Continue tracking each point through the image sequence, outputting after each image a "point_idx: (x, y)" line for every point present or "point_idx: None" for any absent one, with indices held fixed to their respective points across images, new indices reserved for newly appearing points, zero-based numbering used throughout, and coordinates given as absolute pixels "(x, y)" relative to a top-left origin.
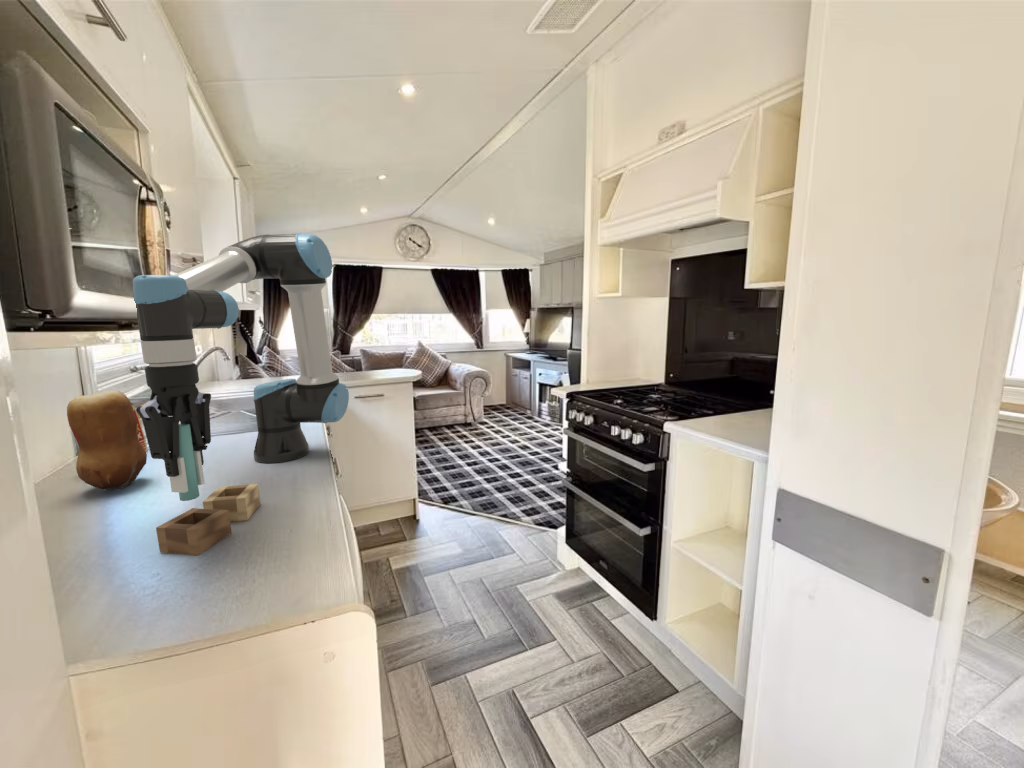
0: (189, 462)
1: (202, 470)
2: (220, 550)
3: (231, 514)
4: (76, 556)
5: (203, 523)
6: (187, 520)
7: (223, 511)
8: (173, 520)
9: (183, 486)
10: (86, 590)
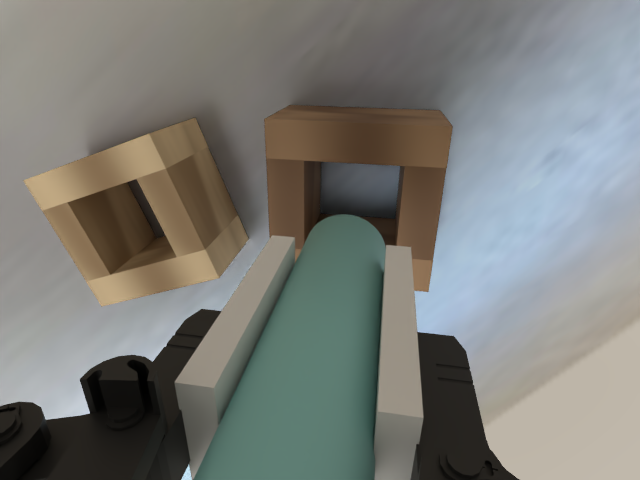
0: (329, 349)
1: (247, 276)
2: (406, 52)
3: (205, 173)
4: None
5: (393, 134)
6: None
7: (280, 131)
8: None
9: (412, 268)
10: (615, 289)
